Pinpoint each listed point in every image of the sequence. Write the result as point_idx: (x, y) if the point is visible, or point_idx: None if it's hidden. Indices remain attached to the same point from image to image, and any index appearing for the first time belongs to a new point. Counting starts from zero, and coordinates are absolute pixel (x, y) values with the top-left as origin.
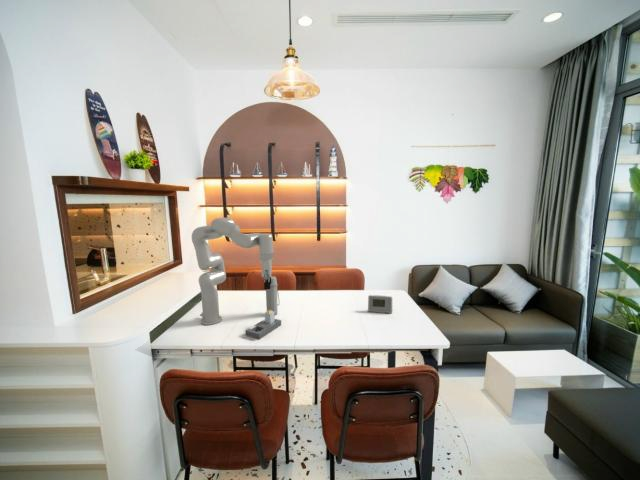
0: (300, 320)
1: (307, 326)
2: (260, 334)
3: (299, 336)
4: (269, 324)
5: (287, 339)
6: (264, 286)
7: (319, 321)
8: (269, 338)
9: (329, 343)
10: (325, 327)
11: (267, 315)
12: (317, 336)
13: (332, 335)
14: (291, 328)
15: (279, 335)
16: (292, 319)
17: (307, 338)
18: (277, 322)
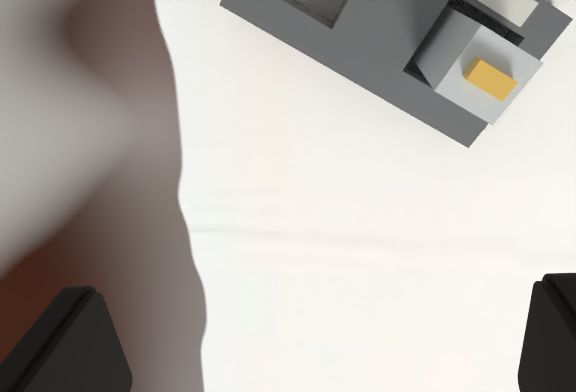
0: (507, 255)
1: (402, 290)
2: (232, 10)
3: (273, 249)
4: (398, 60)
5: (236, 187)
6: (28, 341)
7: (461, 350)
8: (246, 72)
9: (204, 364)
10: (374, 368)
11: (452, 52)
12: (272, 327)
13: (281, 383)
14: (387, 204)
15: (289, 135)
16: (542, 205)
17: (250, 285)
18: (428, 123)
